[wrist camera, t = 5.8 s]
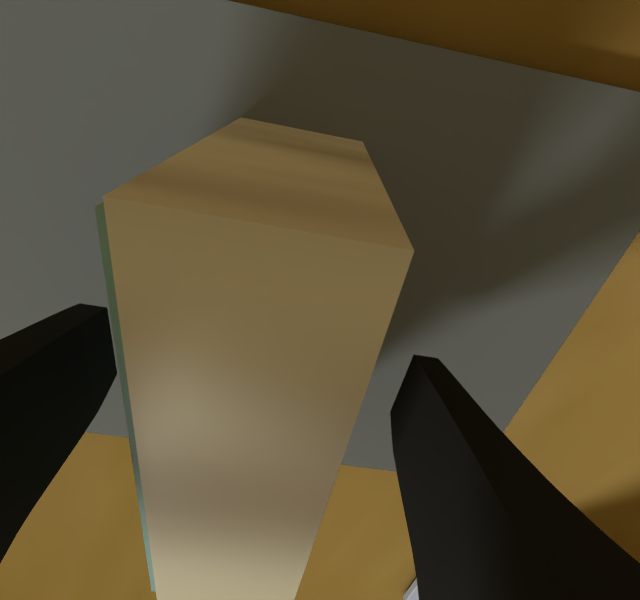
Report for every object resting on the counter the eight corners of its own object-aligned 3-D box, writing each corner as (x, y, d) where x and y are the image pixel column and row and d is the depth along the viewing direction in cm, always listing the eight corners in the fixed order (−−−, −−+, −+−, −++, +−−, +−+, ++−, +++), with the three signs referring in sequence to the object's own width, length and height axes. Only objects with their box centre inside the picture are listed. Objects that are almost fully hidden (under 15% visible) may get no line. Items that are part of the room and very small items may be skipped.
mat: (697, 107, 9) (721, 109, 8) (465, 467, 16) (470, 480, 15) (-147, -80, 7) (-184, -92, 7) (27, 410, 14) (16, 423, 14)
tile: (302, 407, 13) (287, 619, 8) (218, 395, 13) (148, 606, 8) (362, 141, 9) (414, 251, 3) (231, 115, 8) (78, 192, 3)
